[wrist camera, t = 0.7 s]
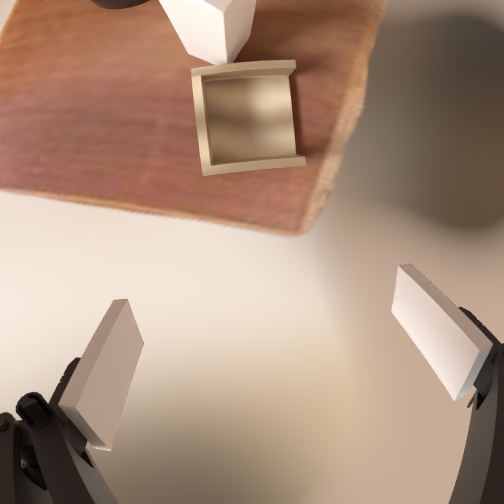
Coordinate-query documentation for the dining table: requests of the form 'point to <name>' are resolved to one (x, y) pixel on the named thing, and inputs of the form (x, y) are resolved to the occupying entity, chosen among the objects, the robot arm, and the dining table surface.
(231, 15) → the milk
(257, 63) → the u rest
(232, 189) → the dining table surface
